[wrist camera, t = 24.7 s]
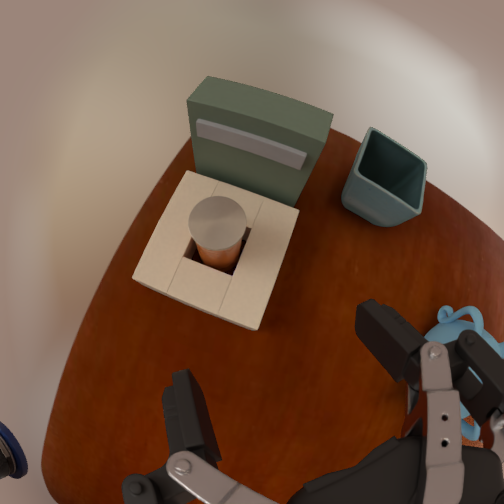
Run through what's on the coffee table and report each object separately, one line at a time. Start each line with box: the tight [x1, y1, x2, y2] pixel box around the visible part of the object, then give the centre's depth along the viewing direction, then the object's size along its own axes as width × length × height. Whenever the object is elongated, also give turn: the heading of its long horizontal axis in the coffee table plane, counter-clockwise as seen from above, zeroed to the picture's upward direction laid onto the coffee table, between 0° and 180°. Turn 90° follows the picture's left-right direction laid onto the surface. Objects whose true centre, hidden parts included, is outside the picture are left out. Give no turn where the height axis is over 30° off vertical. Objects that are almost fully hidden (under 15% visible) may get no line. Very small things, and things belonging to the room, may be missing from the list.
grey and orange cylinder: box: [188, 196, 247, 272], centre depth 26 cm, size 5×5×9 cm
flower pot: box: [341, 127, 427, 227], centre depth 30 cm, size 9×9×9 cm
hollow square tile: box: [132, 171, 299, 331], centre depth 29 cm, size 13×13×4 cm
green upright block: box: [187, 76, 333, 208], centre depth 27 cm, size 12×4×14 cm, turn 70°
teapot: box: [424, 305, 504, 441], centre depth 23 cm, size 15×17×11 cm
